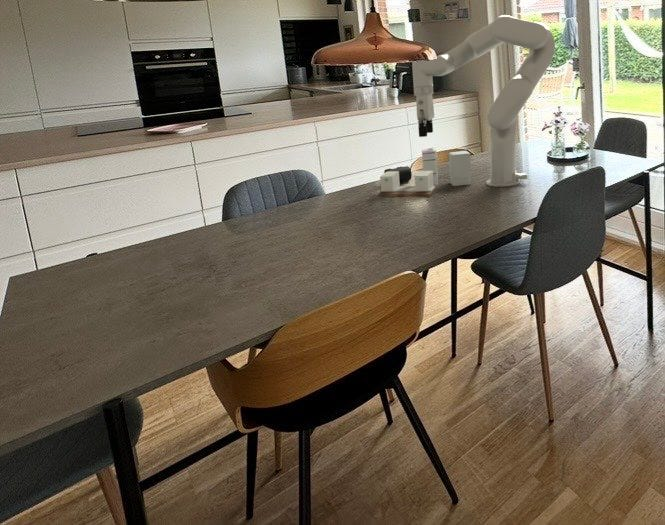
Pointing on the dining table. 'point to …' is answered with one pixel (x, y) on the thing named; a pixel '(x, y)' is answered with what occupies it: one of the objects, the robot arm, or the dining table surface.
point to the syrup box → (430, 162)
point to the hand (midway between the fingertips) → (426, 134)
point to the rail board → (407, 192)
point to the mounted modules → (392, 181)
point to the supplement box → (460, 168)
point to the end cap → (402, 173)
